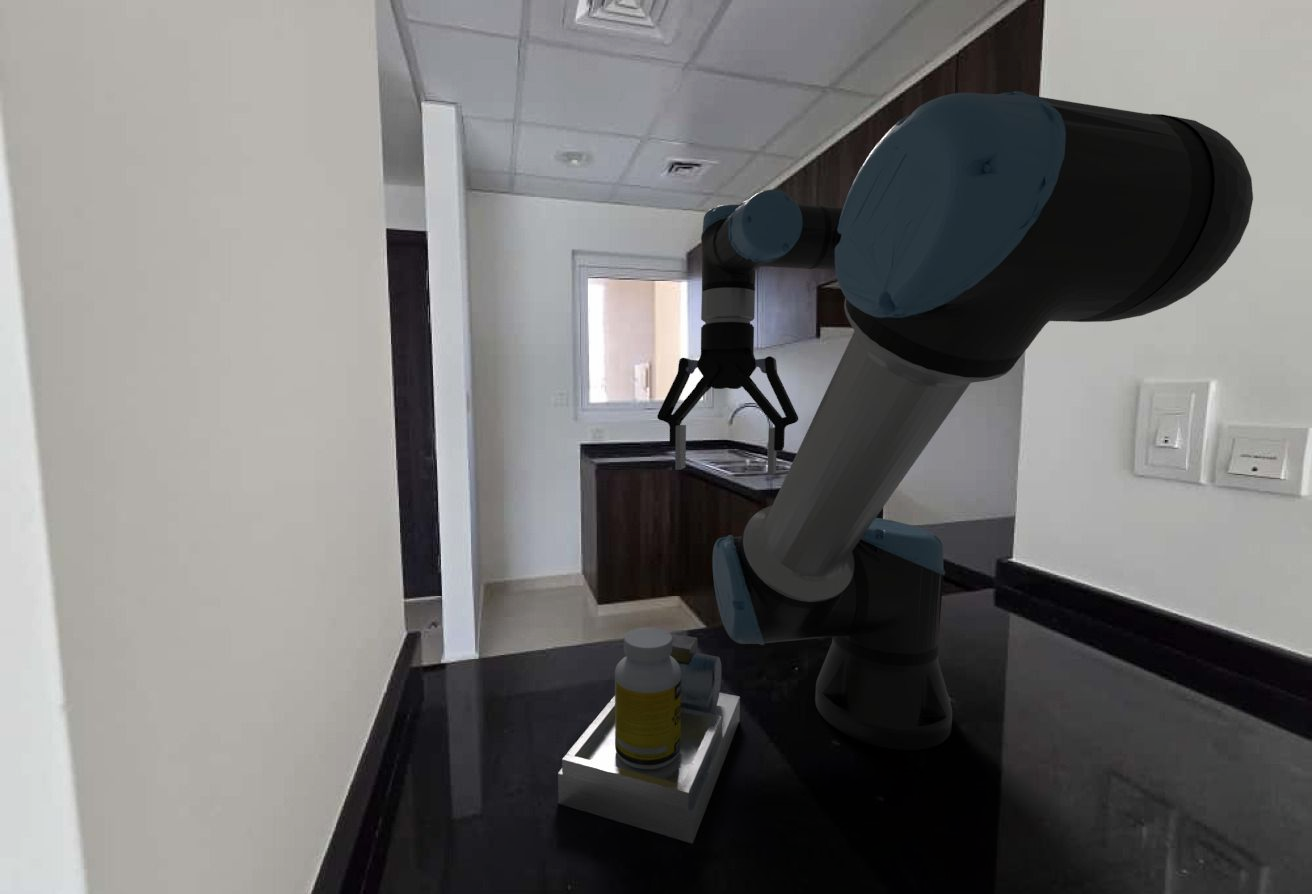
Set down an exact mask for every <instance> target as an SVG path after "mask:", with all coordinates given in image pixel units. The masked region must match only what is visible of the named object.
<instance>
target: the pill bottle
mask: <svg viewBox="0 0 1312 894" xmlns="http://www.w3.org/2000/svg"><path fill="white" fill-rule="evenodd" d="M671 634H672V633H670V632H668V631H666V630H665V629H662V628H658V627H639V628H634V629H632V630H629V631H628V632H627V633H625V635H624V638H623V653H624V655H625V656H624V657H623V658H622V659H621V660H620V661H619V662H617V665H616V667H615V670H614V696H615V749H616V753H617V755H618V756H619V758H620V759H621V760H622V761H623V762H624V763H626V764H627V765H629V766H632V767H634V768H638V769H648V770H649V769H657V768H661V767H664V766H666V765H668V764H670V763H671V762H672V761H673V760H674V759H675V758H676V757H677V755H678V754H679V751H680V745H681V669H680V666H679V664H678V662H677V661H676V660H675V659H674V658H673V657H672V656H670V655H671V653H672V636H671Z"/></svg>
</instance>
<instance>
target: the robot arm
mask: <svg viewBox="0 0 1312 894" xmlns="http://www.w3.org/2000/svg"><path fill="white" fill-rule="evenodd" d="M1252 181H1253V179H1252V176H1251V173H1250V170H1249V169H1248V166H1247V164H1246V161H1245V159H1244V157H1243V155H1242V154H1241V153H1240V152H1239V150H1238V149H1237V148H1236V147H1235V146H1234V144H1233V143H1232V142H1231V141H1230V140H1229V139H1228V138H1227V137H1225V136H1224V135H1223V134H1221V133H1220V132H1219V131H1217V130H1215V129H1213V128H1211V127H1209V126H1207V125H1205V124H1203V123H1201V122H1199V121H1197V120H1196V119H1195V120H1194V119H1189V118H1184V117H1178V116H1173V115H1168V114H1163V113H1162V114H1159V113H1143V112H1137V111H1132V110H1126V109H1118V108H1111V107H1106V106H1099V105H1093V104H1087V103H1080V102H1074V101H1069V100H1061V99H1057V98H1056V99H1055V98H1050V97H1042V96H1039V95H1038V96H1037V95H1032V94H1026V93H1025V92H1023V91H1013V92H1000V93H998V94H997V93H995V94H992V93H978V92H958V93H956V92H955V93H949V94H946V95H942V96H939V97H936V98H934V99H931V100H929V101H927V102H925V103H923V104H921V105H919V106H918V107H917V108H915V110H913V112H911V114H910V115H907V116H905V117H903V118H901V119H899V120H898V121H897V122H896V123H894V125H893V126H892V127H891V128H890V129H889V130H888V131H887V132H886V133H885V134H884V136H882V138H881V139H880V140H879V141H878V142H877V143H876V144H875V146H874V147H873V149H872V150H871V151H870V153H869V154H868V156H867V157H866V159H865V161H864V163H863V164H862V166H860V169H859V170H858V173H857V174H856V176H855V178H854V180H853V182H852V184H851V187H850V189H849V191H848V193H847V196H846V199H845V202H844V205H843V207H839V206H823V205H815V204H807V203H806V204H803V203H797V201H796V200H795V199H794V198H793V197H791V196H789V195H788V194H787V193H786V192H783V190H779V189H778V190H777V189H765V190H762V191H759V192H757V193H756V194H754V195H753V196H751V197H748V199H746V200H745V201H743V202H741V203H740V204H735V203H734V204H722V205H717V206H716V207H713V208H710V209H709V210H707V211H706V212H705V214H704V216H703V222H702V233H701V236H700V241H701V264H702V265H701V306H700V307H701V314H700V319H701V321H702V322H704V324H703V325H702V326H701V327H700V355H699V359H698V360H697V359H690V358H687V357H681V358H679V360H678V368H677V373H676V376H675V378H674V380H673V381H672V384H671V386H670V388H669V390H668V392H667V394H666V396H665V398H664V400H663V402H662V405H661V406H660V408H659V411H658V413H657V420H659V421H662V422H664V423H667V424H668V426H669V445H670V447H675V453H674V454H675V455H674V456H675V460H674V462H675V463H674V465H675V466H674V467H675V468H674V469H675V470H677V471H679V470H680V471H681V470H683V469H686V468H687V467H686V462H687V461H686V459H687V456H686V455H687V454H686V453H687V452H686V451H687V449H686V448H687V424H682V422H683V421H684V419H685V418H686V417H687V416H688V414H689V413H690V412H691V411H692V410H693V409H694V407H695V406H696V405H697V404H698V403H699V401H700V400H701V399H702V398H703V397H704V395H705V394H706V393H707V392H709V390H710V389H715V390H723V389H729V390H738V389H740V388H743V390H745V392H746V393H748V395H749V396H750V398H752V400H753V401H754V402H755V403H756V405H758V407H759V409H761V411H762V413H764V414H765V416H766V417H767V418H768V420H769V421H770V422H771V423H772V424H773V425H774V426H772V427H769V428H768V440H767V441H768V446H767V448H768V449H767V475H768V476H773V475H775V474H776V473H777V452H779V451H780V452H781V451H783V450H784V448H785V433H786V432H785V430H786V427H787V426H790V425H792V424H795V423H797V422H798V421H799V416H798V414H797V411H796V409H795V407H794V406H793V403H792V402H791V401H792V400H791V399H790V396H789V395H788V393H787V390H786V389H785V387H784V384H783V382H782V381H781V378H780V375H779V374H778V368H777V367H778V365H777V359H776V358H775V357H773V356H771V355H769V356H766V357H764V358H759V359H757V358H755V354H754V351H755V350H754V349H755V348H754V347H755V327H754V325H753V324H752V323H751V322H752V321H754V320H755V313H756V312H755V310H756V309H755V305H756V304H755V303H756V302H755V301H756V297H755V296H756V292H755V291H756V271H757V269H760V268H762V267H767V268H768V267H770V268H786V269H800V270H801V269H805V270H807V269H808V270H809V269H810V270H813V269H814V270H826V271H835V273H836V275H835V276H836V281H837V282H838V286H839V288H840V289H841V292H842V294H843V296H844V298H845V299H844V303H843V304H844V305H843V307H844V309H843V310H844V313H845V316H846V317H847V320H848V322H849V324H850V325H851V327H852V329H853V333H852V335H851V337H850V340H849V342H848V343H847V346H846V348H845V350H844V353H843V355H842V356H841V359H840V361H839V363H838V365H837V368H836V370H835V371H834V374H833V375H832V378H831V380H830V382H829V384H828V386H827V388H826V390H825V392H824V395H823V398H822V399H821V401H820V403H819V405H818V408H817V409H816V412H815V414H814V417H813V418H812V420H811V423H810V424H809V426H808V429H807V431H806V433H805V436H804V437H803V440H802V441H801V444H800V446H799V448H798V450H797V452H796V454H795V456H794V459H793V460H792V462H791V465H790V467H789V469H788V471H787V474H786V475H785V478H784V480H783V482H782V484H781V486H780V488H779V491H778V492H777V494H776V497H775V499H774V501H773V503H772V505H769V506H766V507H765V508H762V509H761V510H759V511H758V512H756V513H755V514H753V516H751V518H750V519H749V520H748V523H747V524H746V526H745V528H744V529H743V533H742V535H740V536H733V534H729V535H727V536H723V537H719V538H718V539H717V540H716V541H715V543H714V545H713V550H712V578H713V586H714V592H715V598H716V603H717V607H718V612H719V615H720V619H721V622H722V624H723V628H724V629H725V631H726V633H727V635H728V636H729V637H730V639H731V640H733V641H734V642H735V643H737V644H741V645H750V644H752V645H758V644H759V645H760V646H765V644H768V643H769V644H770V643H771V644H772V643H780V642H789V641H790V642H792V641H802V640H812V639H822V638H823V639H824V638H832V640H831V644H830V647H829V649H828V652H827V655H826V657H825V658H824V661H823V664H822V667H821V669H820V671H819V673H818V676H817V679H816V683H815V699H814V700H815V702H814V703H815V706H816V709H817V711H818V712H819V715H821V717H822V718H823V719H824V721H826V722H827V723H829V724H830V725H831V726H832V727H833V728H835V729H836V730H838V731H839V732H841V733H843V734H845V735H847V736H849V738H853V739H855V740H858V741H860V742H863V743H865V744H868V745H873V746H876V747H880V748H884V749H885V748H886V749H891V750H899V751H919V750H925V749H931V748H934V747H937V746H939V745H941V744H943V743H944V742H946V741H947V740H948V739H949V737H950V735H951V732H952V727H953V726H952V723H953V709H952V708H953V707H952V703H951V700H950V695H949V694H948V693H949V692H948V690H947V687H946V682H945V679H944V676H943V673H942V669H941V666H940V662H939V646H940V645H939V643H940V633H941V632H940V629H941V613H942V612H941V611H942V597H943V586H944V576H945V574H946V570H945V569H944V546H943V543H942V541H941V539H940V538H939V537H938V536H937V535H936V534H934V533H933V532H931V531H929V530H926V529H925V528H921V527H918V526H915V525H912V524H907V523H905V522H900V521H895V520H890V519H886V518H885V519H884V518H880V517H879V518H878V515H879V514H880V512H881V511H882V510H883V509H884V506H886V504H887V502H888V501H889V500H890V498H891V497H892V495H893V493H894V492H895V491H896V490H897V488H898V486H899V485H900V484H901V483H902V481H903V479H904V478H905V477H906V476H907V474H908V473H909V471H910V470H911V469H912V467H913V465H914V464H915V463H916V461H917V460H918V459H919V457H920V456H921V454H922V453H923V451H924V450H925V449H926V448H927V446H928V444H929V443H930V441H931V440H932V439H933V437H934V435H935V434H936V433H937V431H938V430H939V429H940V427H941V425H942V424H943V423H944V422H945V420H946V418H947V417H948V416H949V414H951V412H952V411H953V409H954V408H955V406H956V405H957V403H958V402H959V400H960V399H961V397H962V396H963V394H965V392H966V390H967V389H968V387H969V386H970V384H973V383H981V382H987V381H992V380H996V379H1000V377H1003V376H1005V375H1006V374H1008V373H1009V372H1010V371H1011V370H1012V369H1013V368H1014V366H1015V365H1016V363H1018V361H1019V360H1020V359H1021V357H1022V355H1023V354H1024V353H1025V352H1026V350H1027V349H1028V348H1029V347H1030V346H1031V344H1032V343H1033V341H1035V339H1036V338H1037V336H1038V335H1039V334H1040V333H1041V331H1042V330H1043V329H1044V327H1045V326H1046V325H1047V324H1049V322H1076V323H1077V322H1079V323H1093V322H1094V323H1095V322H1097V323H1099V322H1104V323H1105V322H1115V321H1119V320H1120V321H1121V320H1127V319H1131V318H1136V317H1142V316H1145V315H1148V314H1150V313H1153V312H1155V311H1158V310H1161V309H1164V308H1167V307H1169V306H1171V305H1172V304H1174V303H1176V302H1178V301H1180V300H1182V299H1184V298H1185V297H1187V296H1189V295H1190V294H1192V293H1193V292H1195V291H1196V290H1197V289H1199V288H1200V287H1201V286H1202V285H1204V284H1206V283H1207V282H1208V281H1209V280H1210V279H1211V278H1212V277H1213V276H1214V275H1215V274H1216V273H1217V272H1219V270H1220V269H1221V268H1222V267H1223V266H1224V265H1225V264H1226V262H1227V261H1228V260H1229V258H1230V257H1231V256H1232V254H1233V253H1234V252H1235V250H1236V248H1237V247H1238V245H1239V244H1240V243H1241V240H1242V238H1243V236H1244V233H1245V231H1246V229H1247V226H1248V225H1249V223H1250V217H1251V213H1252V211H1251V210H1252V206H1253V201H1254V193H1253V183H1252ZM757 368H759V369H760V371H761V373H763V374H766V378H767V380H768V382H769V384H770V387H771V389H772V390H773V393H774V394H775V397H776V399H777V401H778V403H779V406H780V408H781V409H782V412H783V414H784V416H783V417H782V415H781V414H780V413H779V412H778V411H777V409H776V408H775V407H774V406H773V405H772V403H771V402H770V401H769V400H768V398H767V397H766V396H765V395H764V393H763V392H762V390H760V388H759V387H758V386H757V384H756V383H755V382H754V380H752V378H751V376H752V374H753V373H754V372H755V371H756V369H757ZM696 369H698V371H699V372H700V373H701V375H702V377H701V378H700V379H699V380H698V382H697V383H696V384H695V387H694V388H693V389H692V391H691V392H689V394H688V395H687V396H686V398H685V399H684V400H683V402H682V403H681V404H680V405H679V406H678V408H677V409H675V407H676V406H677V404H678V401H679V400H680V397H681V395H682V394H683V391H684V389H685V388H686V385H687V383H688V381H689V378H690V375H692V374H694V372H695V370H696ZM674 410H675V411H674ZM672 413H673V414H672Z"/></svg>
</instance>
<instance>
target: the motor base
mask: <svg viewBox="0 0 1312 894" xmlns="http://www.w3.org/2000/svg"><path fill="white" fill-rule="evenodd" d="M670 634H671V636H672V653H671V655H670V656H672V657H673V658H674V659H675V660H676V661H677V662H678V664H679V666H680V669H681V745H680V751H679V754H678V755H677V757H676V758H675V759H674V760H673V761H672V762H671V763H670V764H668V765H666V766H664V767H661V768H657V769H649V770H648V769H638V768H634V767H632V766H629V765H627V764H626V763H624V762H623V761H622V760H621V759H620V758H619V756H618V755H617V753H616V749H615V695H614V696H613V697H612V698H611V700H610V701H609V702H608V703H607V704H606V705H605V707H604V708H603V709H602V711H600V713H599V714H598V715H597V717H596V718H595V719H594V720H593V721H592V723H591V724H589V726H587V728H586V729H585V731H584V732H583V733H582V734H581V736H580V737H579V738H578V740H577V741H575V743H574V744H573V745H572V747H571V748H570V749H569V750H568V751H567V753H566V754H565V755H564V756H563V758H562V759H561V769H560V770H559V771H558V773H557V787H558V788H557V789H558V790H557V793H558V794H557V795H558V796H557V797H558V799H557V802H558V805H562V806H564V807H565V806H566V807H568V808H572V809H574V810H575V809H576V810H578V811H583V812H585V813H589V814H591V815H595V816H598V817H601V818H605V819H609V820H613V821H615V822H618V823H623V824H626V825H629V826H632V827H635V828H638V829H642V830H646V831H648V832H652V833H655V834H657V835H658V834H659V835H663V836H666V837H667V838H673V839H676V840H679V841H681V842H686V843H689V844H694V842H695V839H696V836H697V833H698V831H699V828H700V825H701V824H702V821H703V818H704V815H705V812H706V810H707V808H708V805H709V802H710V798H711V797H712V794H713V791H714V789H715V786H716V785H717V784H716V783H717V781H718V778H719V775H720V773H721V771H722V768H723V765H724V762H725V760H726V758H727V757H726V756H727V754H728V753H729V749H730V747H731V744H732V741H733V739H734V737H735V733H736V731H737V729H738V725H739V723H740V713H741V712H740V707H741V705H740V704H741V703H740V702H741V697H740V696H738V695H734V694H728V693H723V692H720V691H721V686H722V662H721V659H720V657H719V656H717V655H716V656H714V655H710V654H704V653H700V652H699V653H698V637H693V636H687V635H681V634H676V633H670Z"/></svg>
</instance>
